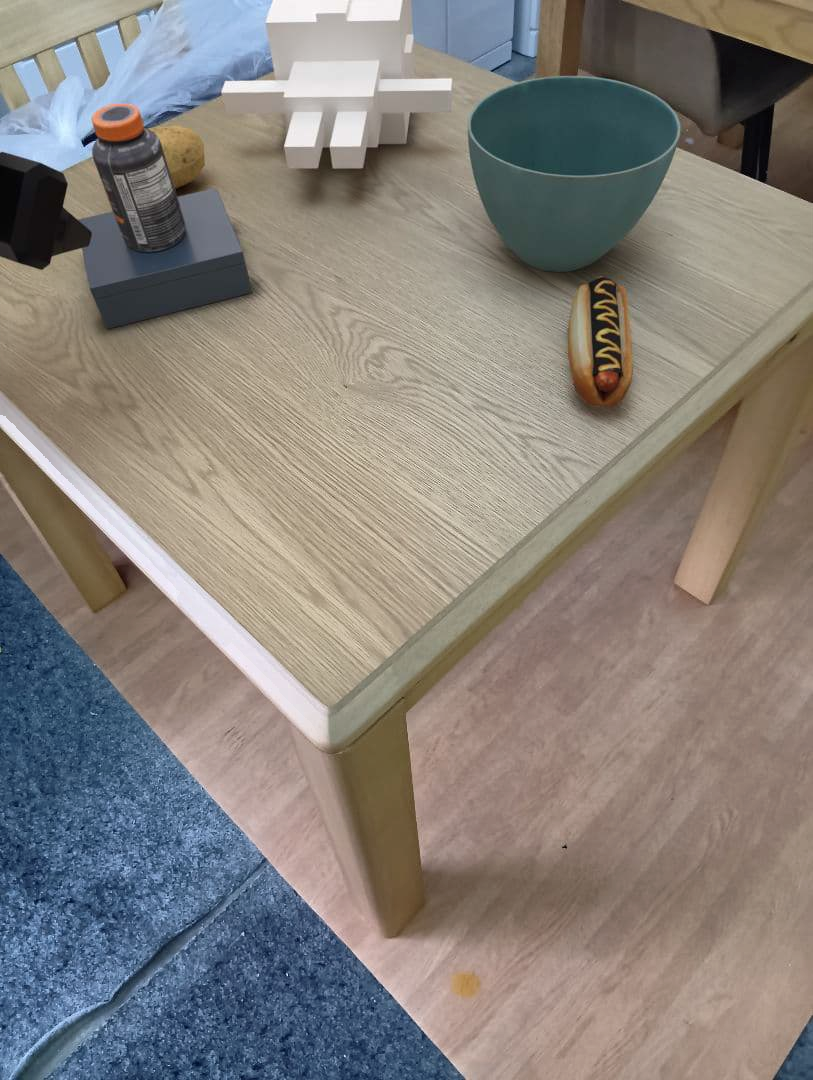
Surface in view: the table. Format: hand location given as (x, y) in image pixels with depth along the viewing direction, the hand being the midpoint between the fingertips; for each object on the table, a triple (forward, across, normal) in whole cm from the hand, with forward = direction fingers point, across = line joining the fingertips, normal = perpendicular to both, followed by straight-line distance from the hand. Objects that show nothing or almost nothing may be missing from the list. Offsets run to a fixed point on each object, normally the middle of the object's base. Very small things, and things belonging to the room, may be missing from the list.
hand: (44, 224), depth 60 cm
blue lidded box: (+18, +3, 0) cm, 19 cm away
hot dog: (+22, -39, -4) cm, 45 cm away
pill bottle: (+15, +3, -3) cm, 16 cm away
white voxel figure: (+40, 0, -21) cm, 45 cm away
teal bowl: (+33, -30, -14) cm, 47 cm away
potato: (+28, +14, -9) cm, 32 cm away
